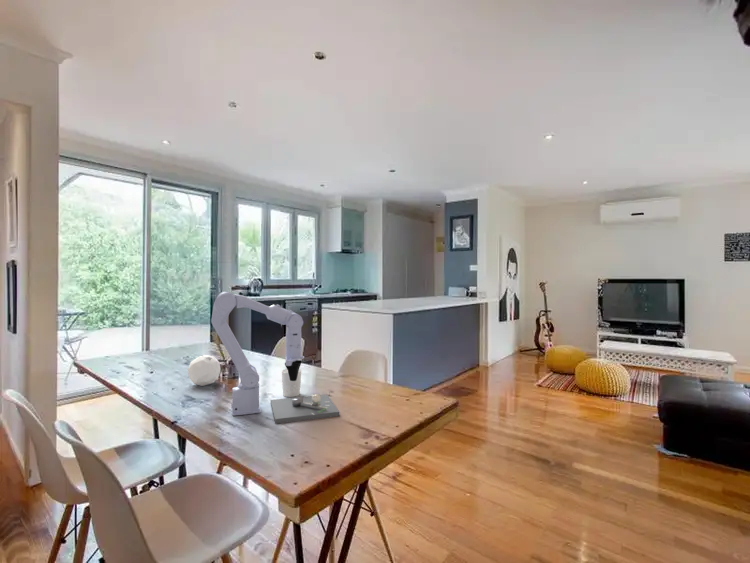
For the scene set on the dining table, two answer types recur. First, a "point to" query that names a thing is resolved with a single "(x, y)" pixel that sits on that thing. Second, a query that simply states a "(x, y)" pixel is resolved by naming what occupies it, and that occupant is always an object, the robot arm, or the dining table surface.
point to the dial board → (302, 410)
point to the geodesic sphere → (204, 370)
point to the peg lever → (315, 403)
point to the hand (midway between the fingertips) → (293, 380)
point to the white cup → (290, 384)
